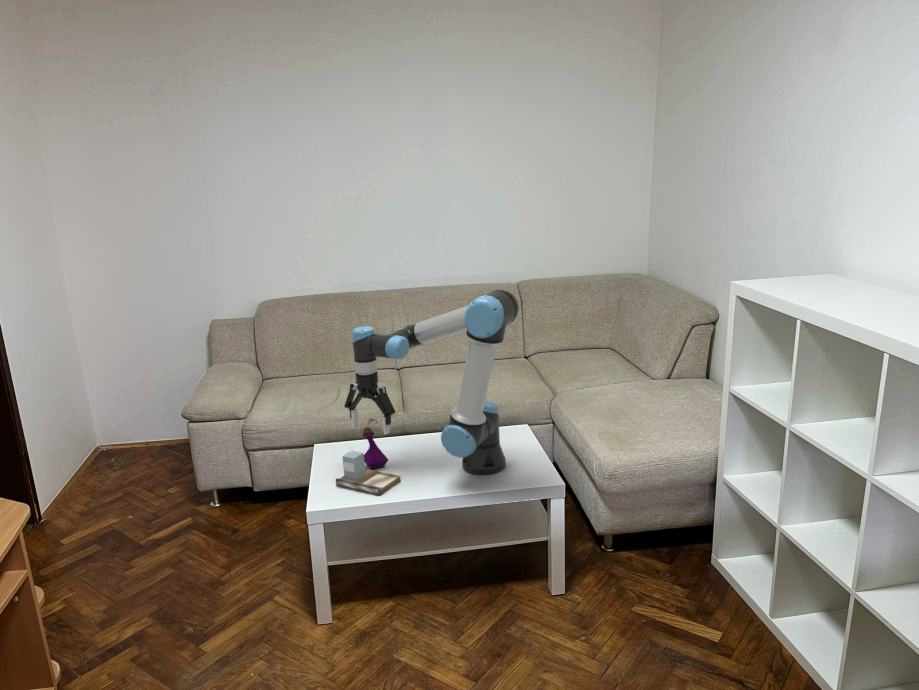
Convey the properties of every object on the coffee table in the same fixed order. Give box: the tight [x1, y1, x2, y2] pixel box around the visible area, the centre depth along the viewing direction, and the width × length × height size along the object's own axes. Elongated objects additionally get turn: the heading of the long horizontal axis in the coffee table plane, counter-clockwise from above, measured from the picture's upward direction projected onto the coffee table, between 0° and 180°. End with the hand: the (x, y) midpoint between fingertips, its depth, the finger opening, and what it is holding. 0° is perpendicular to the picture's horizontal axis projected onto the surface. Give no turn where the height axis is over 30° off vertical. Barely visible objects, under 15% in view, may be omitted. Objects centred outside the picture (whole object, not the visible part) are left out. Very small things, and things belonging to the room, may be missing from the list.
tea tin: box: [341, 450, 366, 481], centre depth 242 cm, size 5×5×8 cm
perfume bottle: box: [362, 417, 389, 471], centre depth 252 cm, size 8×8×18 cm
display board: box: [335, 468, 401, 497], centre depth 241 cm, size 18×12×3 cm, turn 60°
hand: (371, 430), depth 251 cm, fingers open, 13 cm apart
